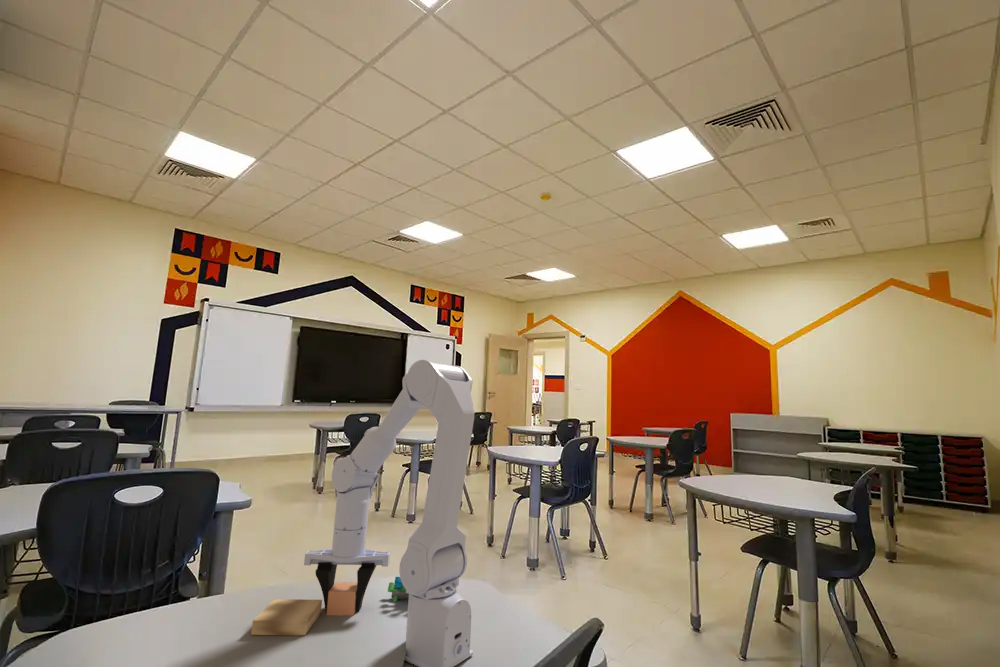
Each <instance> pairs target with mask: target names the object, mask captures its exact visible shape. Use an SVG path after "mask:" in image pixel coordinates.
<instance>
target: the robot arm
mask: <svg viewBox="0 0 1000 667" xmlns="http://www.w3.org/2000/svg"><path fill="white" fill-rule="evenodd" d="M401 382H402V390H401V391H400V392H399V394H398V396H397V398H395V400H394V402H393V403H392V406H391V407H390V409H389V410H388V412H387V413H386V414H385V417H384V418H383V420H382V422H381V423H380V425H379V426H372V427H370V428H369V429H366V430H365V432H364V433H363V434H364V435H363V437H362V438H361V440H360V441H359V443H357V445H356V447H355V448H354V449H353V450H352V452H351V453H350V454H349V455H346V456H345V457H341V458H338V459H337V460H336V462H335V464H334V466H333V468H332V471H331V483H332V486H333V487H334V489H335V490H336V491H337V492H336V502H335V503H336V505H335V514H334V522H333V535H332V545H331V549H318V550H308V551H307V552H305V553H304V560H303V561H304V562H303V566H312V565H317V568H316V570H315V577H316V579H317V581H318V583H319V586H320V589H321V592H322V597H323V603H324V611H325V612H327V604H328V593H329V590H330V589H331V588H332V587H333V585H334V584H335V580H336V573H337V567H338V565H339V566H340V565H342V566H343V565H345V566H346V565H349V566H350V565H351V566H355V565H356V566H359V568H358V569H357V570H356V577H357V579H356V580H357V596H356V603H355V611H356V612H360V611H361V608H362V606H363V601H364V596H365V594H366V590H367V587H368V585H369V583H370V580H371V578H372V576H373V574H374V571H375V570H376V568H377V566H381V567H386V568H387V567H388V566H389V565H390V564H391V563H390V561H391V552H390V551H382V550H381V551H380V550H374V549H373V550H372V549H366V547H367V546H366V544H367V533H368V522H369V521H368V520H369V506H370V499H371V498H372V496H373V493H374V488H375V486H376V485H377V483H378V480H379V476H380V474H379V473H378V471H379V470H380V468H382V466H383V464H384V463H385V462H386V461H387V459H388V458H389V457H390V455H391V454H392V453H393V451H394V450H395V449H396V447H397V440H396V437H397V436H398V435H399V434H400V433H401V431H403V429H404V428H405V427H406V426H407V425H408V423H410V421H411V420H412V419H413V418H414V416H416V414H418V413H419V411H420V410H421V409H422V408H426V409H427V410H429V411H430V412H431V413H432V415H433V416H434V418H435V419H436V420H437V422H438V425H437V431H436V438H435V443H434V448H433V455H432V462H431V466H430V473H429V479H428V484H427V490H426V497H425V503H424V510H423V513H422V514H423V516H422V521H421V524H420V525H419V526H418V527H417V528H416V529H415V530H414V532H413V533H412V534H411V535H410V537H409V538H408V543H407V547H406V550H405V552H404V553H403V555H402V556H401V558H400V562H399V568H398V569H399V577H400V578H401V582H402V584H403V586H404V588H405V589H406V593H408V594H409V598H407V599H408V601H407V602H408V603H407V616H406V618H407V620H406V633H405V648H406V652H405V655H404V659H403V660H404V661H406V662H407V663H409V664H411V665H413V664H414V665H413V666H415V667H417V666H418V667H455V666H457V665H458V664H460V663H462V662H463V661H465V660H467V659H468V658H470V657H471V656H473V655H474V650H472V649H471V635H472V633H471V632H472V631H471V630H472V608H471V604H470V603H469V601H467V600H466V599H465V598H463V597H462V596H461V595H460V594H459V592H458V591H457V587H459V586H460V578H461V577H463V575H464V573H465V572H466V569H467V565H468V558H467V557H468V556H467V550H466V541H467V540H466V539H467V535H466V534H465V532H463V531H462V529H460V527H459V526H458V522H459V516H460V510H461V505H462V504H461V503H462V499H463V498H462V497H463V491H464V484H465V480H466V472H467V465H468V459H469V453H470V448H471V446H470V445H471V441H472V434H473V428H474V421H475V409H474V408H475V407H474V404H473V399H472V398H473V397H472V394H471V393H472V387H473V382H474V381H473V379H472V377H471V376H470V375H469V374H468V373H467V371H466V370H465V368H463V367H462V366H459V365H455V364H454V365H452V364H451V365H450V364H446V363H445V364H444V363H440V362H434V361H429V360H427V359H419V360H416V361H415V362H414V363H412V365H411V366H410V368H409V369H408V372H406V374H405V375H404V376H403V377H402V381H401Z"/></svg>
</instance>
